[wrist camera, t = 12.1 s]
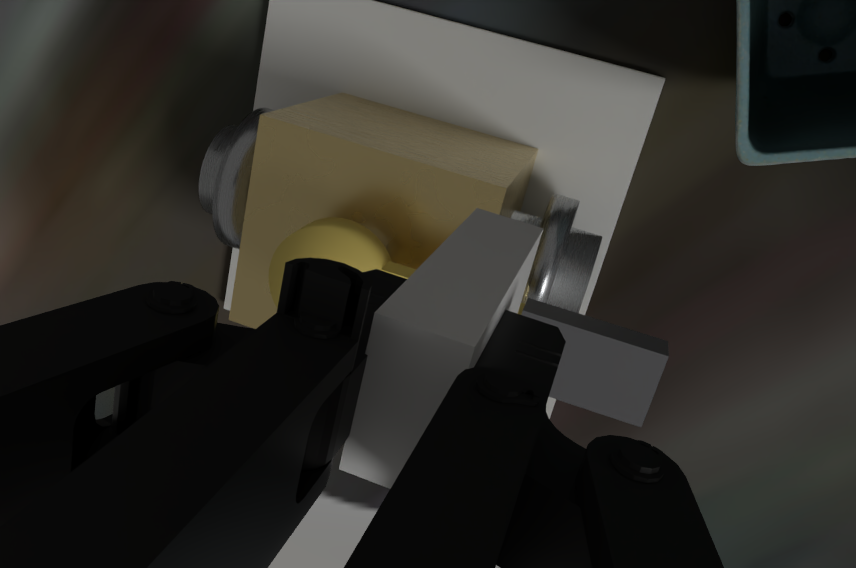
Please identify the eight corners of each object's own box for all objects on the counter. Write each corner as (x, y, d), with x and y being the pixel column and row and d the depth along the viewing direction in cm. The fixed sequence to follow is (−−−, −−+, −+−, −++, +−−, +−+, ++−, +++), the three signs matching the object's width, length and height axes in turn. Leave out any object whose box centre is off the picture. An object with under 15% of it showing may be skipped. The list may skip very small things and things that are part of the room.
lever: (675, 320, 27) (677, 335, 26) (634, 427, 29) (634, 447, 27) (294, 202, 29) (278, 211, 28) (276, 308, 31) (260, 321, 30)
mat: (278, -26, 39) (273, -26, 38) (665, 77, 36) (665, 78, 35) (228, 304, 45) (223, 308, 45) (550, 415, 42) (548, 420, 42)
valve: (268, 71, 40) (142, 91, 30) (621, 173, 37) (610, 232, 27) (243, 237, 43) (122, 304, 33) (564, 342, 40) (536, 449, 30)
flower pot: (940, 113, 33) (1034, 147, 25) (716, 131, 36) (735, 168, 28) (956, -117, 31) (1068, -163, 22) (714, -80, 33) (735, -110, 25)
